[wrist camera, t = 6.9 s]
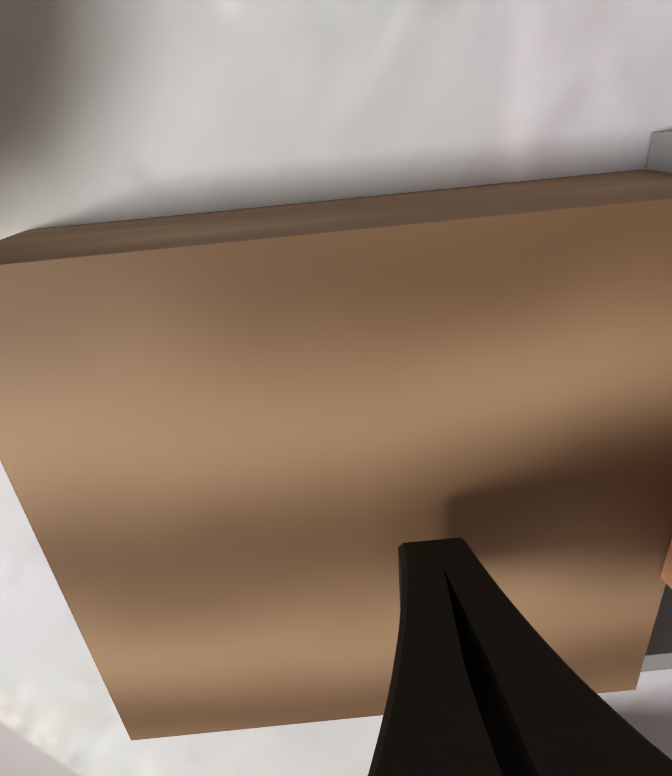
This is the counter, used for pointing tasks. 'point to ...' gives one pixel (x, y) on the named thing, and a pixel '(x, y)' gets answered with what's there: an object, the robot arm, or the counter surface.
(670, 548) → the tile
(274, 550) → the dark wood platform
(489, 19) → the counter surface
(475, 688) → the robot arm
